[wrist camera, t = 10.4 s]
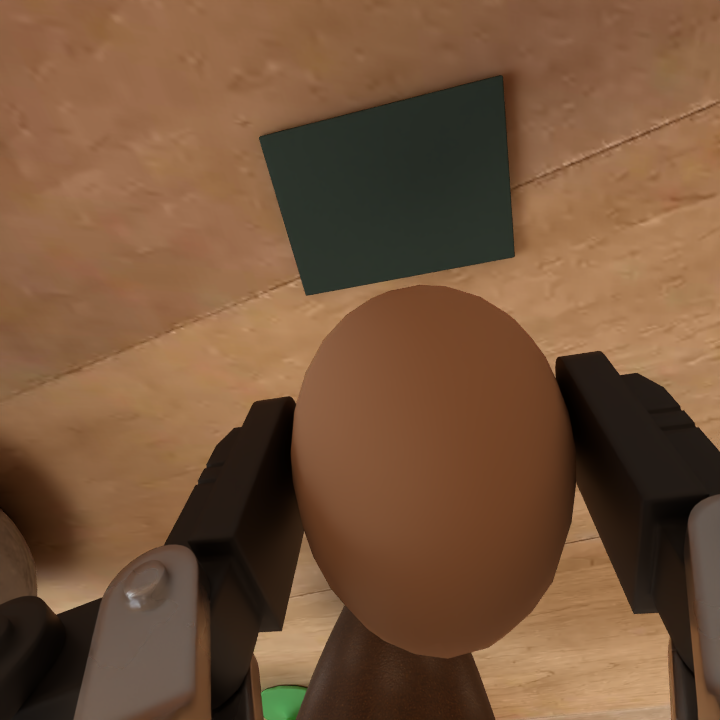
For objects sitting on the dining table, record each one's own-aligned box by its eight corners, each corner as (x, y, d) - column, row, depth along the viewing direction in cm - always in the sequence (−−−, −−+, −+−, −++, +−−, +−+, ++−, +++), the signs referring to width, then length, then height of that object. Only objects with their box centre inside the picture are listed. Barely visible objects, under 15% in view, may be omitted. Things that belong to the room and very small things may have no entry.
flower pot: (345, 653, 44) (318, 914, 30) (277, 550, 37) (203, 825, 23) (506, 634, 40) (560, 920, 26) (464, 517, 33) (508, 817, 20)
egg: (563, 321, 12) (780, 635, 5) (434, 445, 14) (462, 773, 7) (400, 199, 11) (397, 392, 4) (289, 356, 13) (163, 648, 6)
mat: (500, 75, 20) (503, 74, 20) (512, 254, 24) (515, 257, 23) (260, 136, 22) (258, 137, 22) (307, 292, 26) (305, 296, 25)
